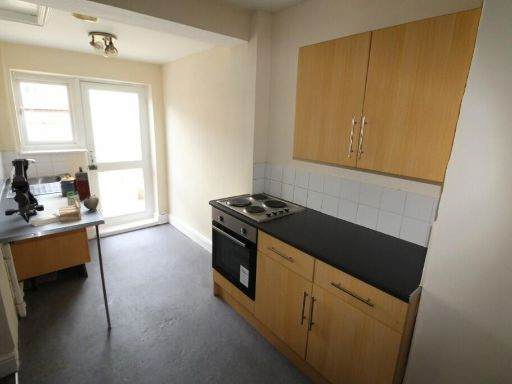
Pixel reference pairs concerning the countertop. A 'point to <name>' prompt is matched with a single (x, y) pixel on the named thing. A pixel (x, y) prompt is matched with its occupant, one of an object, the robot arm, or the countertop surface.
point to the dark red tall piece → (82, 184)
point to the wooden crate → (70, 212)
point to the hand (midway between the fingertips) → (27, 222)
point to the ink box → (72, 199)
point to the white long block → (45, 220)
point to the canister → (67, 186)
